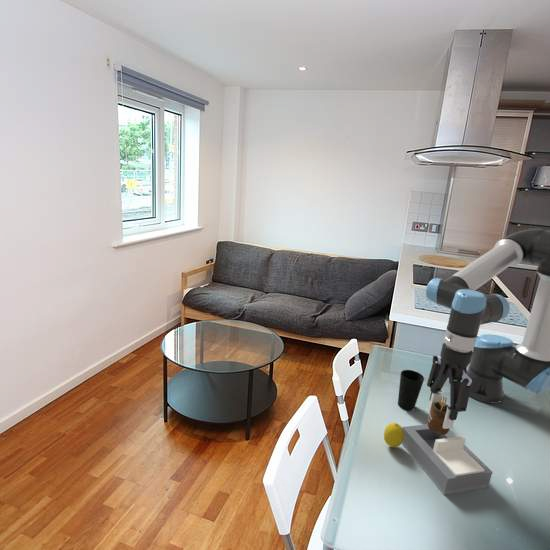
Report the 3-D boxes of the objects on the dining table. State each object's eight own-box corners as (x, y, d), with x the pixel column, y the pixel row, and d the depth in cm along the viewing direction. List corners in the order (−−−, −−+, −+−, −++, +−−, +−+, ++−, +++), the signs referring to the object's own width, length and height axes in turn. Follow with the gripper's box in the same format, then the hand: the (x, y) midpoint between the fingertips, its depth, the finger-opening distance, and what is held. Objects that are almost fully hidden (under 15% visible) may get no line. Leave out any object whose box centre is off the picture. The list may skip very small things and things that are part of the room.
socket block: (438, 436, 120) (441, 422, 118) (487, 487, 101) (492, 471, 100) (399, 440, 116) (402, 426, 114) (443, 494, 97) (448, 478, 96)
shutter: (459, 447, 108) (462, 436, 107) (484, 471, 100) (487, 459, 98) (432, 451, 105) (435, 439, 104) (455, 476, 97) (458, 464, 96)
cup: (418, 414, 130) (426, 383, 127) (395, 409, 131) (402, 379, 128) (415, 401, 137) (422, 372, 134) (393, 397, 138) (399, 368, 135)
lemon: (401, 443, 115) (406, 420, 113) (400, 455, 110) (405, 432, 108) (382, 437, 116) (387, 415, 114) (381, 449, 111) (385, 426, 109)
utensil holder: (450, 428, 111) (460, 391, 108) (445, 439, 106) (455, 401, 103) (429, 419, 114) (438, 383, 111) (423, 429, 109) (432, 392, 106)
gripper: (424, 332, 111) (408, 401, 117) (472, 364, 93) (451, 444, 99) (446, 331, 113) (429, 399, 119) (497, 363, 95) (474, 441, 102)
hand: (439, 419), depth 109 cm, fingers closed on utensil holder, 6 cm apart
